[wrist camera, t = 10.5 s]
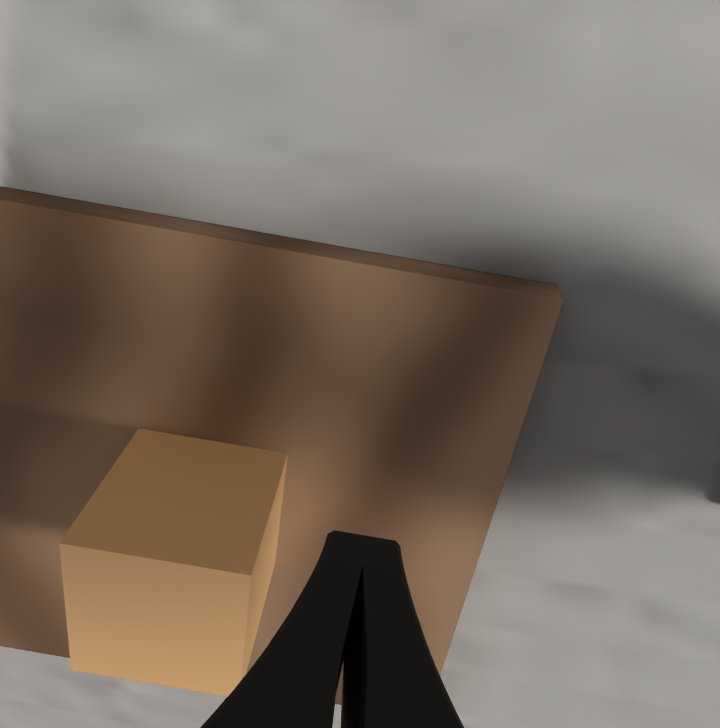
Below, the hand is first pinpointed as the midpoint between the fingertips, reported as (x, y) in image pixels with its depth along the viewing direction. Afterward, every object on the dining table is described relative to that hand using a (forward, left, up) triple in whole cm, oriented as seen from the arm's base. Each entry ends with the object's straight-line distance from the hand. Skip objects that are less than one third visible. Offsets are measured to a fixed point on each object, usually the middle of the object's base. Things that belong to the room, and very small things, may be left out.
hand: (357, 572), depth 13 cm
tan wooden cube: (+5, +7, -9) cm, 12 cm away
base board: (+5, +7, -10) cm, 13 cm away
